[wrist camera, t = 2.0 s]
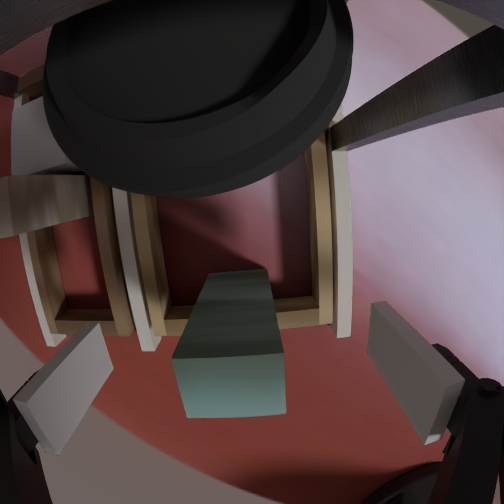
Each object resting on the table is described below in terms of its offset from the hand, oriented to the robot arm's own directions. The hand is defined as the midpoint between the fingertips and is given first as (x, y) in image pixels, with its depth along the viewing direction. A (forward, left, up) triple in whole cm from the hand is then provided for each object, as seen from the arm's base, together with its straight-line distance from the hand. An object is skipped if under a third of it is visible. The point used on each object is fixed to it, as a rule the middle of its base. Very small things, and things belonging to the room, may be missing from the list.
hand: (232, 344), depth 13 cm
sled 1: (+8, +12, -8) cm, 16 cm away
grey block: (+12, +12, -8) cm, 19 cm away
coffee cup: (+11, 0, -8) cm, 14 cm away
